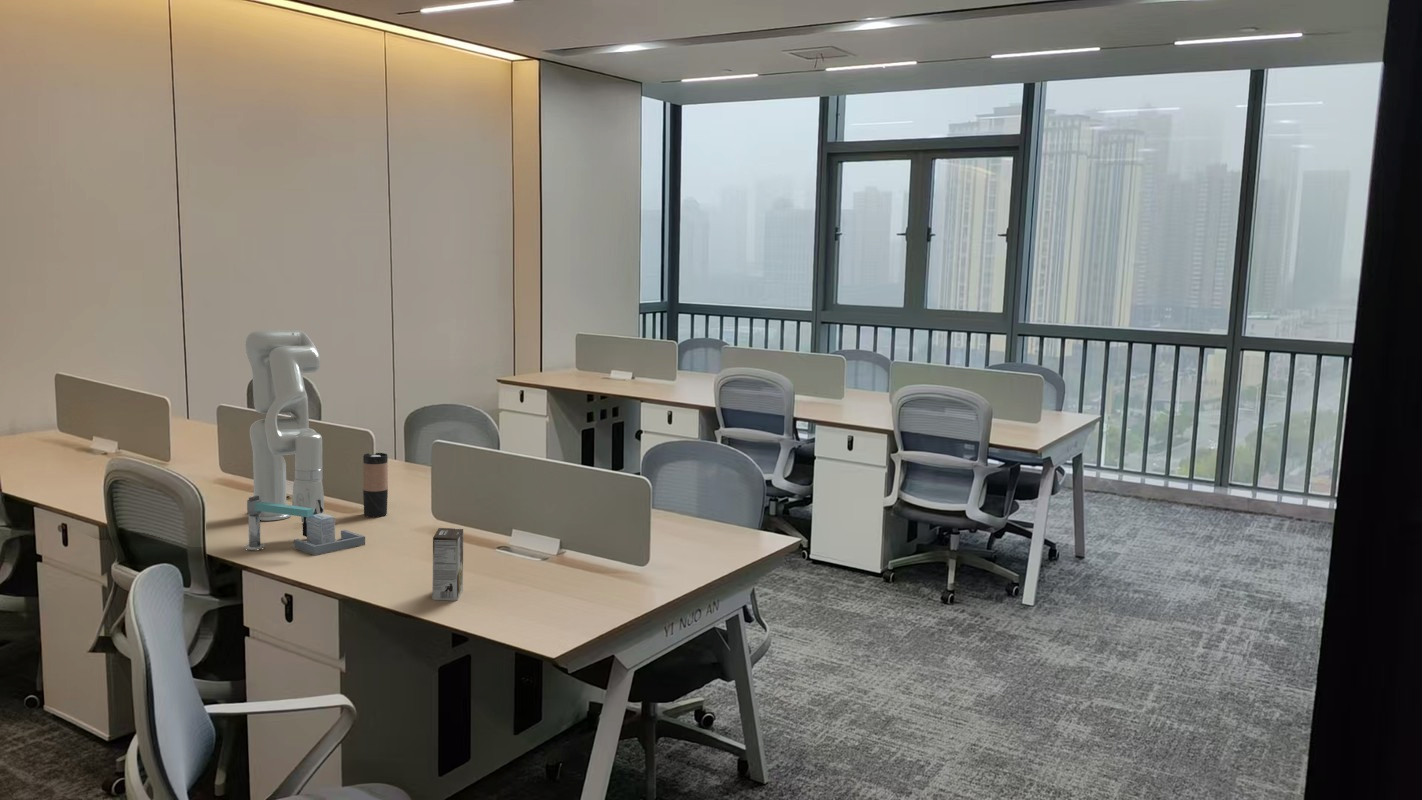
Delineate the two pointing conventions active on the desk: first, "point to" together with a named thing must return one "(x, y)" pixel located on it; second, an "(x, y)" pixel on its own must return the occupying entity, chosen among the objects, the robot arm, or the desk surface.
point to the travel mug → (375, 484)
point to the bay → (331, 544)
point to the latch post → (254, 533)
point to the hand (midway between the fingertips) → (309, 535)
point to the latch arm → (276, 508)
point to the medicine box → (320, 529)
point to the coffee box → (447, 564)
